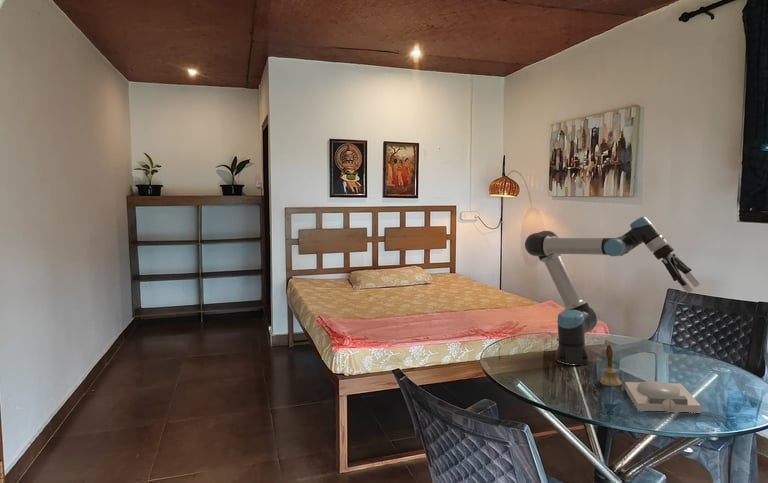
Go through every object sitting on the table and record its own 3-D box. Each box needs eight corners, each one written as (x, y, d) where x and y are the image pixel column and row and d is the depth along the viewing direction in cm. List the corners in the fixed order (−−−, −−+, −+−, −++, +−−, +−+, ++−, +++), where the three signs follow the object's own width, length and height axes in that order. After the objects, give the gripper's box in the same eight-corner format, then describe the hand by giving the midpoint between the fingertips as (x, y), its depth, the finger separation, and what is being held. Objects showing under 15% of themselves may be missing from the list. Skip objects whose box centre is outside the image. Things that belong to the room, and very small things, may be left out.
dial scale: (638, 411, 173) (637, 398, 172) (625, 389, 193) (624, 377, 192) (701, 414, 168) (700, 400, 167) (681, 390, 187) (680, 378, 187)
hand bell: (616, 388, 195) (614, 349, 193) (596, 382, 201) (594, 345, 200) (625, 382, 200) (624, 344, 198) (605, 377, 206) (604, 341, 205)
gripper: (660, 246, 198) (696, 289, 191) (674, 239, 216) (708, 278, 209) (644, 256, 203) (679, 299, 195) (660, 249, 221) (692, 287, 213)
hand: (694, 288), depth 202 cm, fingers open, 13 cm apart
